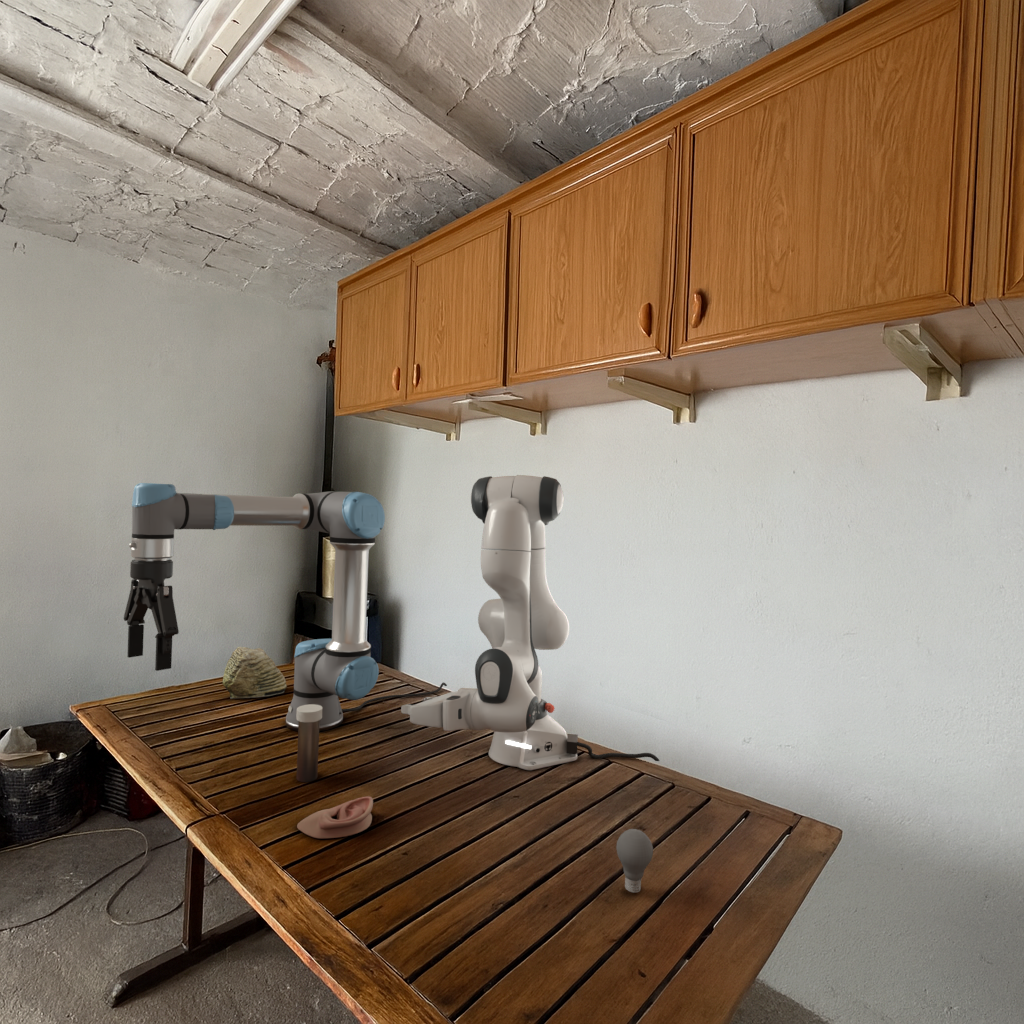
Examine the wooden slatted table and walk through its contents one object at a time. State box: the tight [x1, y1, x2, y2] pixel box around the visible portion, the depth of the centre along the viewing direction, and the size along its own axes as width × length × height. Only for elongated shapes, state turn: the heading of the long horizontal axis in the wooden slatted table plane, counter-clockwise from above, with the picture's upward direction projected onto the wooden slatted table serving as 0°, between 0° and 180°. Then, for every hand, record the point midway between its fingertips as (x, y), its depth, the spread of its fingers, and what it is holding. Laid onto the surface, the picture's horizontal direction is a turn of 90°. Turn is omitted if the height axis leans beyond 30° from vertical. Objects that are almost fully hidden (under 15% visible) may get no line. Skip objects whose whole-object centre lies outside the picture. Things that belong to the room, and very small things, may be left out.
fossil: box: [222, 646, 288, 699], centre depth 198 cm, size 9×18×15 cm, turn 132°
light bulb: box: [615, 828, 654, 894], centre depth 106 cm, size 6×6×10 cm
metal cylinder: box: [296, 720, 320, 783], centre depth 142 cm, size 4×4×15 cm
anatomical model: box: [296, 796, 374, 840], centre depth 123 cm, size 13×4×12 cm
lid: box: [296, 704, 322, 722], centre depth 142 cm, size 6×6×2 cm
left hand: (148, 662), depth 129 cm, fingers open, 13 cm apart
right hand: (414, 704), depth 146 cm, fingers open, 8 cm apart
